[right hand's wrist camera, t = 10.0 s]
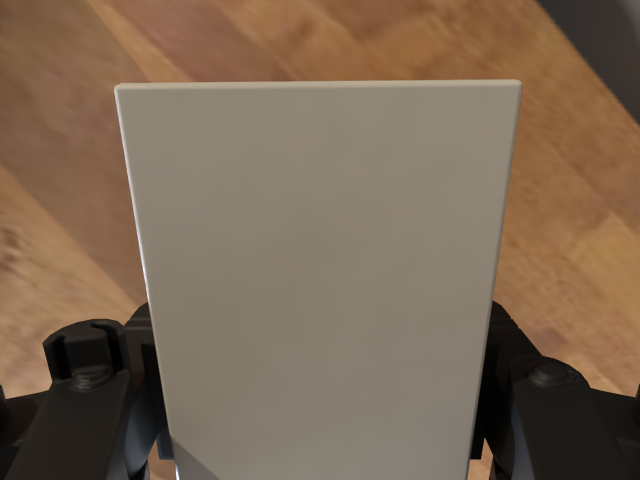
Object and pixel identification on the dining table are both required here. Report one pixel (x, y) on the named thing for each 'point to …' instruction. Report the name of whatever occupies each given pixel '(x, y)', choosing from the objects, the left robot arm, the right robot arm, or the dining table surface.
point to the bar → (320, 269)
